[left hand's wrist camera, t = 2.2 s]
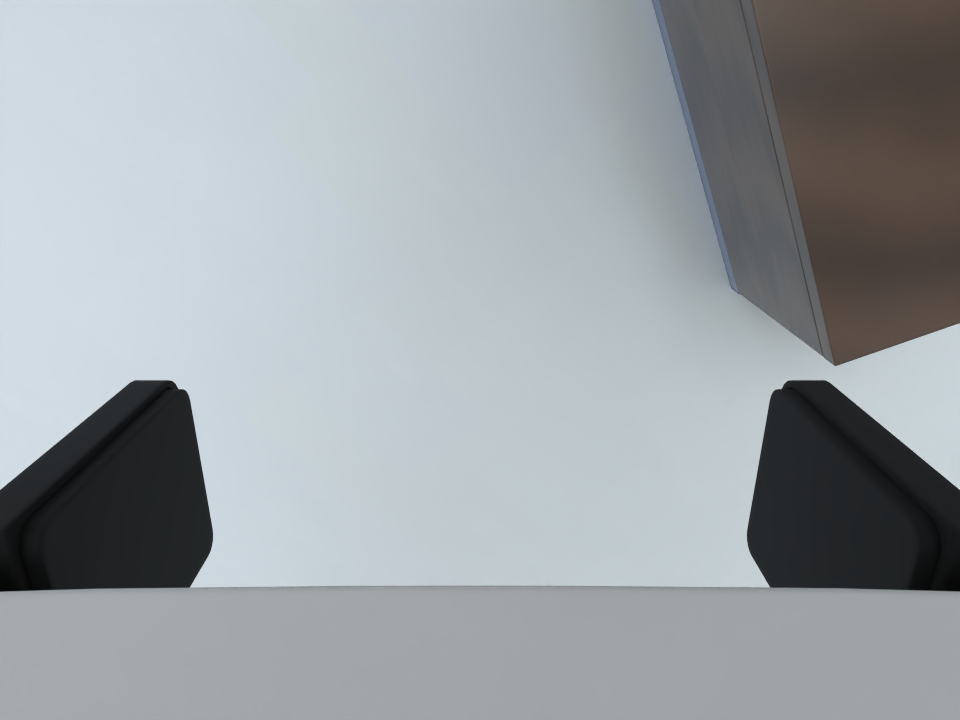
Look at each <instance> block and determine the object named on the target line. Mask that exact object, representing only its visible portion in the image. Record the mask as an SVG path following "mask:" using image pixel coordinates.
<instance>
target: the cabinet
mask: <svg viewBox="0 0 960 720" xmlns="http://www.w3.org/2000/svg"><path fill="white" fill-rule="evenodd" d="M652 1H653V4H654V8H655V12H656V15H657V19H658V23H659V26H660V30H661V34H662V37H663V41H664V44H665V48H666V52H667V55H668V59H669V63H670V66H671V70H672V74H673V77H674V81H675V84H676V88H677V92H678V95H679V99H680V103H681V106H682V110H683V114H684V117H685V121H686V124H687V128H688V132H689V135H690V139H691V143H692V146H693V150H694V153H695V157H696V161H697V164H698V168H699V172H700V175H701V179H702V183H703V186H704V190H705V193H706V197H707V201H708V204H709V208H710V212H711V215H712V219H713V223H714V226H715V230H716V233H717V237H718V241H719V244H720V248H721V252H722V255H723V259H724V262H725V266H726V270H727V273H728V277H729V281H730V284H731V288H732V289H733V290H734V291H736V292H737V293H738V294H739V293H740V294H741V295H743V296H744V297H745V298H747V299H748V300H749V301H750V302H752V303H753V304H754V305H756V306H757V307H758V308H760V309H761V310H762V311H764V312H765V313H766V314H768V315H769V316H770V317H772V318H773V319H774V320H776V321H777V322H778V323H780V324H781V325H782V326H783V327H785V328H786V329H787V330H789V331H790V332H791V333H793V334H794V335H795V336H797V337H798V338H799V339H801V340H802V341H803V342H805V343H806V344H807V345H809V346H810V347H811V348H813V349H814V350H815V351H816V352H818V353H819V354H820V355H822V356H824V358H825V359H826V360H828V361H829V362H830V363H832V364H833V365H834V366H837V365H840V364H843V363H846V362H849V361H852V360H854V359H857V358H860V357H863V356H866V355H869V354H872V353H875V352H878V351H880V350H883V349H886V348H889V347H892V346H895V345H898V344H901V343H904V342H906V341H909V340H912V339H915V338H918V337H921V336H924V335H927V334H929V333H932V332H935V331H938V330H941V329H944V328H947V327H950V326H953V325H955V324H958V323H960V0H652Z"/></svg>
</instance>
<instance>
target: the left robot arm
mask: <svg viewBox="0 0 960 720" xmlns="http://www.w3.org/2000/svg"><path fill="white" fill-rule="evenodd" d="M212 542H213V529H212V524H211V518H210V512H209V506H208V501H207V495H206V489H205V483H204V478H203V472H202V466H201V460H200V455H199V449H198V443H197V438H196V432H195V426H194V420H193V415H192V409H191V403H190V399H189V395H188V393H187V392H186V391H185V390H182V389H178V388H177V386H176V384H175V383H174V382H173V381H168V380H135V381H133V382H131V383H129V384H128V385H127V386H126V387H125V388H123V389H122V390H121V391H120V392H119V393H117V394H116V395H115V396H114V397H112V398H111V399H110V400H109V401H108V402H106V403H105V404H104V405H103V406H102V407H100V408H99V409H98V410H97V411H95V412H94V413H93V414H92V415H91V416H89V417H88V418H87V419H86V420H85V421H83V422H82V423H81V424H80V425H79V426H77V427H76V428H75V429H74V430H72V431H71V432H70V433H69V434H68V435H66V436H65V437H64V438H63V439H62V440H60V441H59V442H58V443H57V444H56V445H54V446H53V447H52V448H51V449H49V450H48V451H47V452H46V453H45V454H43V455H42V456H41V457H40V458H39V459H37V460H36V461H35V462H34V463H32V464H31V465H30V466H29V467H28V468H26V469H25V470H24V471H23V472H22V473H20V474H19V475H18V476H17V477H16V478H14V479H13V480H12V481H11V482H9V483H8V484H7V485H6V486H5V487H3V488H2V489H1V490H0V720H960V490H959V489H958V488H957V487H955V486H954V485H953V484H952V483H951V482H949V481H948V480H947V479H946V478H944V477H943V476H942V475H941V474H940V473H938V472H937V471H936V470H935V469H934V468H932V467H931V466H930V465H929V464H928V463H926V462H925V461H924V460H923V459H921V458H920V457H919V456H918V455H917V454H915V453H914V452H913V451H912V450H911V449H909V448H908V447H907V446H906V445H904V444H903V443H902V442H901V441H900V440H898V439H897V438H896V437H895V436H894V435H892V434H891V433H890V432H889V431H888V430H886V429H885V428H884V427H883V426H881V425H880V424H879V423H878V422H877V421H875V420H874V419H873V418H872V417H871V416H869V415H868V414H867V413H866V412H865V411H863V410H862V409H861V408H860V407H858V406H857V405H856V404H855V403H854V402H852V401H851V400H850V399H849V398H848V397H846V396H845V395H844V394H843V393H841V392H840V391H839V390H838V389H837V388H835V387H834V386H833V385H832V384H831V383H829V382H827V381H825V380H792V381H787V382H786V383H785V384H784V386H783V388H782V389H778V390H775V391H774V392H773V393H772V395H771V399H770V403H769V409H768V415H767V420H766V426H765V432H764V438H763V443H762V449H761V455H760V460H759V466H758V472H757V478H756V483H755V489H754V495H753V501H752V506H751V512H750V518H749V524H748V529H747V542H748V547H749V551H750V553H751V555H752V557H753V559H754V561H755V562H756V564H757V566H758V567H759V569H760V571H761V572H762V574H763V576H764V577H765V579H766V581H767V583H768V584H769V586H770V588H748V587H631V586H306V587H213V588H190V586H191V584H192V583H193V581H194V579H195V577H196V576H197V574H198V572H199V571H200V569H201V567H202V566H203V564H204V562H205V561H206V559H207V557H208V555H209V553H210V551H211V547H212Z"/></svg>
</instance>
